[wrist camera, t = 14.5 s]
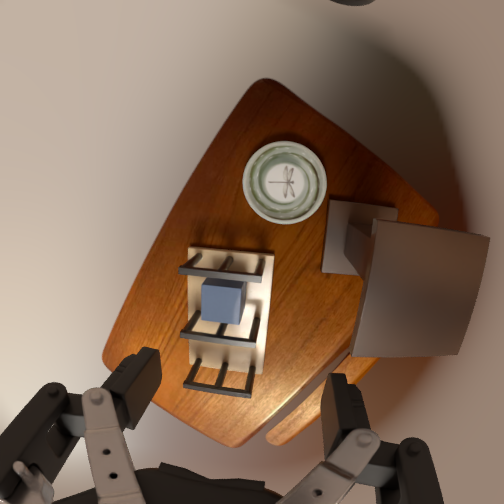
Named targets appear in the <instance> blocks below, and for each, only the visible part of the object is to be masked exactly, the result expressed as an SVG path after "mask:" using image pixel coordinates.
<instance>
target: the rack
mask: <svg viewBox="0 0 504 504" xmlns="http://www.w3.org/2000/svg"><path fill="white" fill-rule="evenodd" d="M274 256H275V254H268V253H257V252H246V251H235V250H225V249H214V248H203V247H192V246H190V247H189V248H188V261H187V262H186V263H185V264H183V265H181V266H180V267H179V274H182V275H188V323H187V324H186V326H185V327H184V329H182V330H181V331H180V338H185V339H189V359H190V364H193V366H192V368H191V370H190V372H189V374H188V376H187V378H186V380H185V381H184V383H183V388H187V389H193V390H198V391H203V392H209V393H215V394H222V395H228V396H235V397H243V398H251V395H252V389H253V383H254V377H255V374H262V373H263V365H264V356H265V347H266V337H267V328H268V318H269V308H270V298H271V288H272V277H273V267H274ZM207 277H208V278H217V279H226V280H235V281H245V282H247V285H246V300H245V309H244V312H243V315H242V319H241V322H240V325H235V324H227V323H219V322H211V321H204V320H201V284H202V283H203V282H204V280H205V279H206V278H207ZM200 366H204V367H210V368H217V369H220V371H219V374H218V377H217V380H216V382H215V385H208V384H202V383H197V382H193V381H194V378H195V376H196V374H197V372H198V370H199V368H200ZM227 370H231V371H238V372H246V373H248V376H247V381H246V385H245V390H242V389H235V388H227V387H222V385H223V382H224V379H225V376H226V373H227Z"/></svg>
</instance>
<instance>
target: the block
mask: <svg viewBox="0 0 504 504" xmlns="http://www.w3.org/2000/svg"><path fill="white" fill-rule="evenodd" d="M246 285H247V282H245V281H235V280H226V279H217V278H208V277H207V278H206V279H205V280H204V282H203V283H202V284H201V320H204V321H211V322H219V323H227V324H235V325H240V322H241V319H242V315H243V312H244V309H245V300H246Z"/></svg>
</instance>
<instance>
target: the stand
mask: <svg viewBox="0 0 504 504" xmlns="http://www.w3.org/2000/svg"><path fill="white" fill-rule="evenodd" d="M397 216H398V208H393V207H386V206H379V205H372V204H364V203H357V202H349V201H340V200H332V199H329V200H328V209H327V218H326V228H325V237H324V245H323V253H322V261H321V268H320V270H321V272H323V273H335V274H346V275H358V276H360V277H361V278H362V279H363V281H364V282H363V288H362V293H361V298H360V303H359V308H358V312H357V317H356V322H355V326H354V330H353V335H352V339H351V343H350V347H349V351H350V354H351V357H425V356H446V355H457V354H458V352H459V350H460V347H461V344H462V342H463V339H464V336H465V333H466V330H467V328H468V324H469V321H470V319H471V315H472V312H473V309H474V306H475V302H476V299H477V295H478V291H479V288H480V284H481V280H482V276H483V271H484V267H485V262H486V257H487V253H488V247H489V242H490V237H487V236H484V235H481V234H475V233H469V232H463V231H458V230H452V229H446V228H439V227H433V226H426V225H420V224H413V223H406V222H399V221H397Z"/></svg>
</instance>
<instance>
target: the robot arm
mask: <svg viewBox="0 0 504 504" xmlns="http://www.w3.org/2000/svg"><path fill="white" fill-rule="evenodd" d="M161 380H162V370H161V361H160V352H159V350H158V349H153V348H149V347H142V349H141V350H140V351H139V352H138V354H137V355H135V354H131V355H130V356H128V357H126V358H124V359H123V361H122V362H121V363H120V364H119V366H118V367H117V368H116V369H115V371H113V373H112V374H111V375H110V376H109V377H108V379H107V380H106V381H105V382H104V384H103V385H102V386H101V387H100V388H91V389H89V390H87V391H85V393H84V394H83V395H82V394H73V393H67V390H66V387H65V386H64V385H62V384H61V383H56V382H52V383H48V384H46V385H44V386H43V387H42V388H41V389H40V390H39V391H38V392H37V393H36V395H35V396H34V397H33V398H32V399H31V400H30V401H29V403H28V404H27V405H26V406H25V407H24V408H23V409H22V410H21V412H20V413H19V414H18V415H17V416H16V417H15V419H14V420H13V421H12V422H11V423H10V424H9V426H8V427H7V428H6V429H5V430H4V432H3V433H2V434H1V435H0V504H339V503H340V502H341V501H342V500H343V498H344V497H345V496H346V495H347V493H348V492H349V491H350V490H351V488H352V487H353V486H354V485H355V483H359V484H364V485H369V486H374V487H375V492H376V503H377V504H444V501H443V497H442V493H441V489H440V486H439V482H438V478H437V475H436V471H435V468H434V464H433V461H432V457H431V454H430V451H429V448H428V446H427V444H426V443H425V442H424V441H422V440H421V439H419V438H414V437H413V438H412V437H411V438H406V439H404V440H403V441H402V442H401V443H400V444H394V443H388V442H384V441H381V440H380V438H379V436H378V435H377V434H376V433H375V432H374V431H372V430H371V428H370V424H369V421H368V416H367V413H366V409H365V407H364V406H365V405H364V401H363V398H362V395H361V391H360V390H359V389H358V388H357V387H356V385H355V384H348V383H347V379H346V375H345V374H343V373H329V374H328V377H327V380H326V384H325V387H324V391H323V394H322V398H321V406H320V409H321V420H322V431H323V442H324V455H325V461H324V462H323V461H321V462H320V463H319V464H318V465H317V466H316V467H315V468H314V469H313V470H312V471H311V472H310V473H309V474H308V475H307V476H306V477H304V478H303V479H302V480H301V482H299V483H298V484H297V485H296V486H295V487H294V488H293V489H292V490H291V491H290V492H288V493H287V494H286V495H285V496H284V497H283V496H282V495H280V494H278V493H276V492H274V491H272V490H269V489H266V488H264V486H265V482H264V481H255V480H246V479H239V478H238V479H208V478H206V477H204V476H201V475H199V474H197V473H194V472H192V471H190V470H188V469H185V468H181V467H178V466H173V465H170V464H166V463H163V462H161V464H160V466H159V468H146V469H139V470H135V468H134V465H133V462H132V459H131V456H130V453H129V451H128V447H127V444H126V441H125V438H124V435H123V431H124V429H125V428H129V429H132V430H134V429H135V427H136V425H137V424H138V422H139V420H140V418H141V417H142V415H143V413H144V412H145V410H146V408H147V406H148V405H149V403H150V401H151V400H152V398H153V396H154V395H155V393H156V391H157V389H158V388H159V386H160V384H161ZM52 425H53V426H52ZM49 429H50V430H49ZM47 432H48V433H47ZM80 437H85V443H86V448H87V453H88V458H89V463H90V467H91V472H92V476H93V480H94V483H95V487H94V488H92V489H89V490H86V491H84V492H81V493H78V494H76V495H72V496H69V497H66V498H63V499H60V500H57V501H54V502H53V497H54V489H53V487H52V483H53V482H54V480H55V478H56V477H57V475H58V473H59V471H60V470H61V468H62V467H63V465H64V463H65V462H66V460H67V458H68V457H69V455H70V453H71V452H72V450H73V449H74V447H75V445H76V444H77V442H78V441H79V439H80Z"/></svg>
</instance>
